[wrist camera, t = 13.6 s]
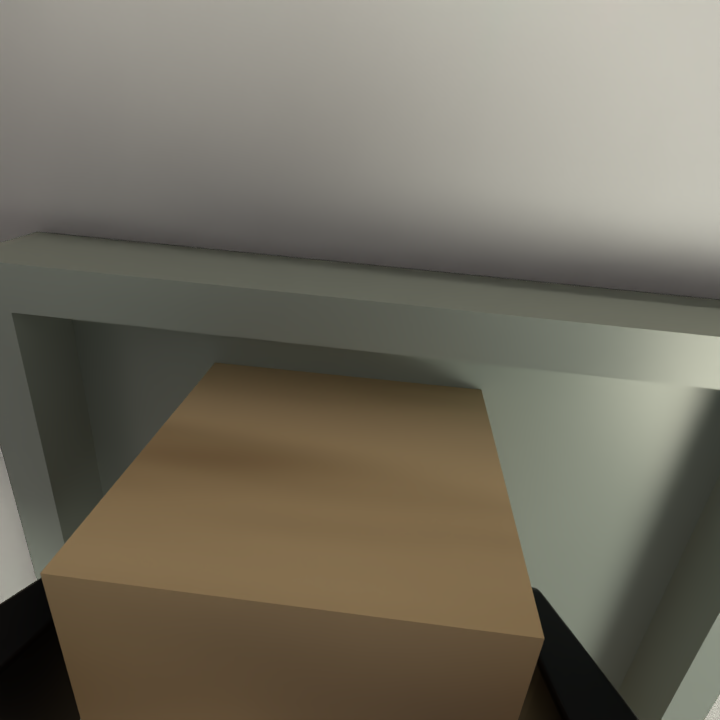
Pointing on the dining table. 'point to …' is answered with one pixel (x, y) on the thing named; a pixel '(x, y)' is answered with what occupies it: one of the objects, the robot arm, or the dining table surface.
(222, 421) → the oak block
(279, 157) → the dining table surface
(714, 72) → the dining table surface
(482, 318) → the tray
